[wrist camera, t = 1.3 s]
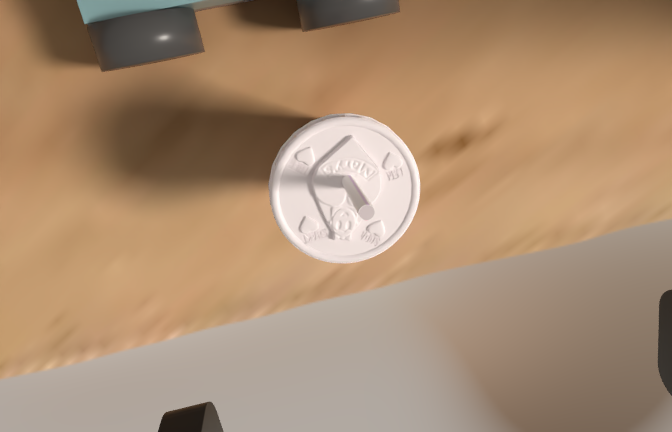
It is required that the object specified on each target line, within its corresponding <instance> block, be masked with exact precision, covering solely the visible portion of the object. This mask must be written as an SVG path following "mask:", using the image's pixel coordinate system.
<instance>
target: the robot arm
mask: <svg viewBox="0 0 672 432" xmlns="http://www.w3.org/2000/svg"><path fill="white" fill-rule="evenodd" d="M658 341H659V342H658V368H659V373H660V376H661V378H662V381H663V383H664V385H665V387H666V388H667V390H668V391H669V393H670V394H671V395H672V290H669V291H666V292H665V293H664V294H663V295H662V296H661V299H660V304H659V339H658ZM158 432H223V429H222V426H221V423H220V420H219V417H218V414H217V411H216V409H215V407H214V405H213V403H212V402H206V403H202V404H198V405H194V406H190V407H186V408H182V409H178V410H173V411H169V412H166V413H165V414H164V415H163V417H162V420H161V423H160V427H159V430H158Z"/></svg>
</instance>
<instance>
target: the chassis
mask: <svg viewBox="0 0 672 432" xmlns="http://www.w3.org/2000/svg"><path fill="white" fill-rule="evenodd" d="M247 1H252V0H77V3H78V6H79V9H80V12H81V15H82V18H83V21H84V24H88V27H87V29H88V32H89V35H90V38H91V41H92V44H93V47H94V50H95V53H96V56H97V59H98V62H99V65H100V68H101V71H102V72H105V71H112V70H118V69H124V68H130V67H135V66H141V65H146V64H151V63H156V62H161V61H166V60H171V59H176V58H181V57H185V56H190V55H194V54H198V53H202V52H205V50H204V46H203V43H202V39H201V35H200V31H199V27H198V24H197V20H196V16H195V12H196V11H201V10H207V9H212V8H217V7H222V6H227V5H232V4H237V3H242V2H247ZM296 1H297V6H298V11H299V16H300V21H301V26H302V31H303V32H307V31H313V30H319V29H324V28H330V27H335V26H340V25H345V24H350V23H355V22H359V21H364V20H369V19H373V18H378V17H382V16H386V15H390V14H394V13H398V12H400V8H399V0H296Z"/></svg>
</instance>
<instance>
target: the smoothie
mask: <svg viewBox="0 0 672 432" xmlns="http://www.w3.org/2000/svg"><path fill="white" fill-rule="evenodd" d="M268 185H269V197H270V205H271V207H272V211H273V214H274V218H275V220H276V222H277V224H278V226H279V228H280V230H281V231H282V233H283V234H284V236H285V237H286V238H287V239H288V240H289V241H290V242H291V243H292V244H293V245H294V246H295V247H296V248H298V249H299V250H300V251H302V252H303V253H305V254H307V255H309V256H311V257H313V258H316V259H318V260H322V261H325V262H331V263H354V262H359V261H363V260H366V259H369V258H372V257H374V256H376V255H378V254H380V253H382V252H383V251H385V250H387V249H388V248H389V247H391V246H392V245H393V244H394V243H395V242H396V241H398V239H399V238H400V237H401V236H402V235H403V234H404V233H405V231H406V230H407V228H408V227H409V225H410V224H411V222H412V220H413V218H414V215H415V213H416V210H417V206H418V202H419V197H420V178H419V172H418V168H417V165H416V162H415V160H414V158H413V155H412V154H411V152H410V150H409V149H408V147H407V146H406V144H405V143H404V142H403V141H402V140H401V139H400V138H399V137H398V136H397V135H396V134H395V133H394V132H393V131H392V130H391V129H390V128H389V127H388V126H386V125H384V124H382V123H380V122H378V121H376V120H375V119H373V118H371V117H367V116H362V115H357V114H353V113H345V114H330V115H327V116H324V117H321V118H318V119H315V120H312V121H310V122H309V123H307V124H306V125H304V126H303V127H301V128H300V129H298V130H297V131H295V132H294V133H293V134H292V135H291V136H290V137H289V139H288V140H287V141H286V142H285V143H284V144H283V145H282V147H281V148H280V150H279V152H278V154H277V156H276V158H275V160H274V162H273V164H272V168H271V174H270V179H269V184H268Z"/></svg>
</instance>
